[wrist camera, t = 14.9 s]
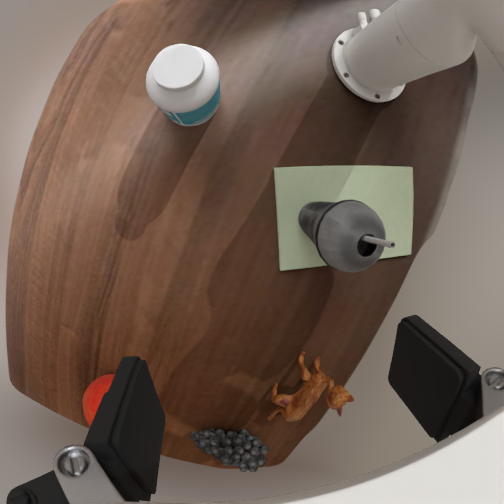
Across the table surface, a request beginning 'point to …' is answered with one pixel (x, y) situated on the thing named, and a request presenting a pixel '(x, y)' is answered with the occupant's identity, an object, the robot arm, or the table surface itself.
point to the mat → (335, 190)
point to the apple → (95, 395)
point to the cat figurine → (309, 394)
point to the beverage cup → (345, 233)
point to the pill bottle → (185, 84)
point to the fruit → (232, 448)
